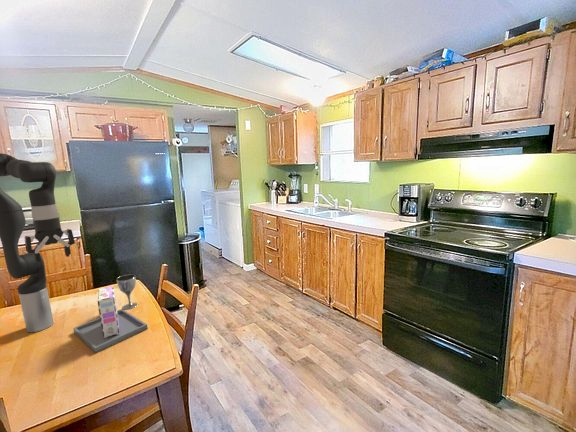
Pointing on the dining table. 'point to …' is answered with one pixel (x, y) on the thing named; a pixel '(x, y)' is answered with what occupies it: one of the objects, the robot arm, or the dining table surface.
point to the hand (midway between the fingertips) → (54, 259)
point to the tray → (96, 342)
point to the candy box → (108, 312)
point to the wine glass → (127, 288)
